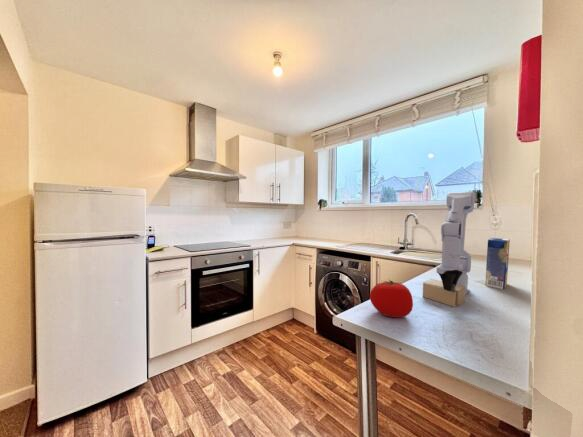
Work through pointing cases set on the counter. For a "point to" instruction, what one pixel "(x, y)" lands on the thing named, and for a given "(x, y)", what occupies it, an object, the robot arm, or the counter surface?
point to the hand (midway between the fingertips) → (449, 289)
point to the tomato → (392, 299)
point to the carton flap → (440, 294)
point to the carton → (459, 290)
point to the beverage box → (497, 262)
